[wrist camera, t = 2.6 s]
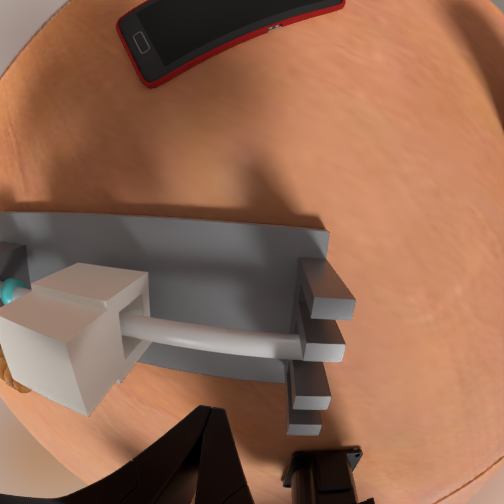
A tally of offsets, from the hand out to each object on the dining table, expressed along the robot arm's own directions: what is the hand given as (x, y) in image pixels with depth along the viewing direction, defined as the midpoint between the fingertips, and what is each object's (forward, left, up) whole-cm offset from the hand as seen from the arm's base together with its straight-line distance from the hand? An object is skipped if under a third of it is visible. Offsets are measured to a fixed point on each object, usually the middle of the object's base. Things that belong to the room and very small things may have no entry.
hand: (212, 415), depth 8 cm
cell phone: (+20, +3, -10) cm, 23 cm away
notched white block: (0, +8, -7) cm, 10 cm away
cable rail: (0, +9, -9) cm, 13 cm away
